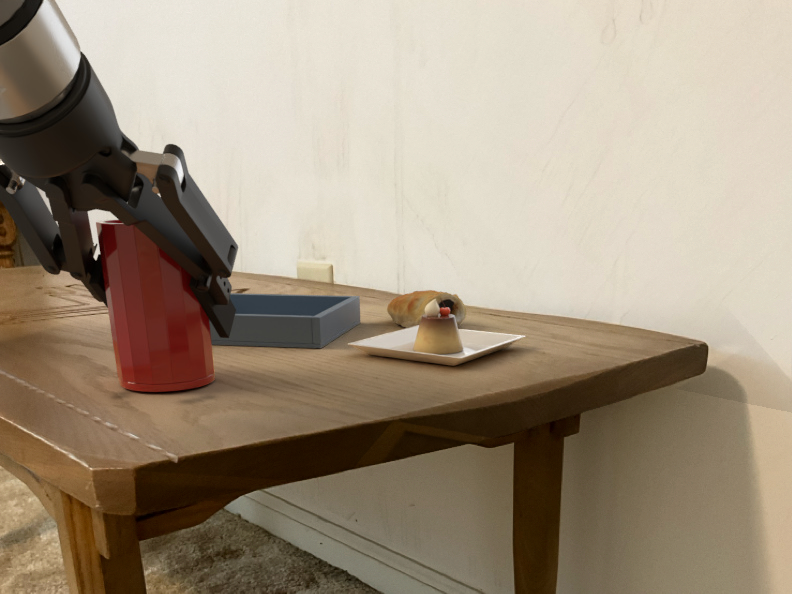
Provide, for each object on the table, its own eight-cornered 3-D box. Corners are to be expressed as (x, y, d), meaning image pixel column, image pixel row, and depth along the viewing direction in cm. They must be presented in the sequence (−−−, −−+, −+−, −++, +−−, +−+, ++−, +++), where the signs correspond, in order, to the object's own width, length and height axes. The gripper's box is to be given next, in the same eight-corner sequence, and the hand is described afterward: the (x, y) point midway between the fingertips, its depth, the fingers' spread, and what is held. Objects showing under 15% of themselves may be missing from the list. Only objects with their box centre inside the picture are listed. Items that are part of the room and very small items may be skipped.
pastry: (372, 321, 94) (371, 286, 92) (420, 316, 98) (420, 281, 96) (423, 333, 87) (424, 295, 86) (473, 327, 91) (474, 290, 89)
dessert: (525, 347, 80) (528, 295, 78) (460, 371, 71) (461, 312, 69) (419, 335, 86) (419, 286, 84) (346, 356, 77) (344, 301, 75)
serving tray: (150, 342, 84) (146, 312, 83) (211, 318, 97) (209, 292, 96) (321, 348, 80) (319, 317, 79) (360, 323, 93) (359, 296, 92)
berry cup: (101, 389, 65) (76, 223, 60) (147, 368, 72) (128, 217, 67) (190, 394, 64) (172, 224, 59) (229, 372, 70) (215, 218, 66)
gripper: (-153, 132, 49) (56, 356, 70) (172, 127, 45) (291, 366, 66) (-107, 38, 52) (82, 281, 73) (204, 26, 48) (308, 287, 69)
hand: (181, 321), depth 69 cm, fingers closed on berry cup, 7 cm apart
